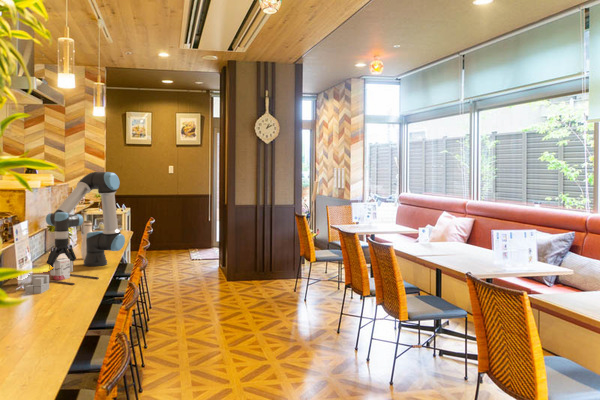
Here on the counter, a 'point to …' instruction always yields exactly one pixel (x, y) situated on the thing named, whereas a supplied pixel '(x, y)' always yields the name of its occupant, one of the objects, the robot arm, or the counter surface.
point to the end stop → (47, 274)
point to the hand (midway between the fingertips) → (61, 273)
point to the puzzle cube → (37, 284)
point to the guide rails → (73, 275)
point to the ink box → (62, 269)
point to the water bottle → (84, 230)
